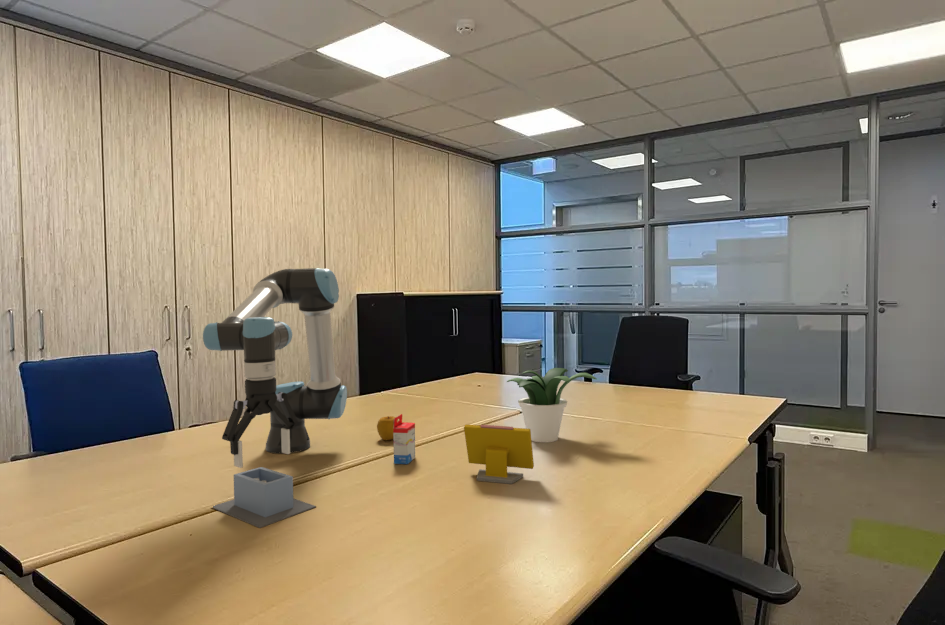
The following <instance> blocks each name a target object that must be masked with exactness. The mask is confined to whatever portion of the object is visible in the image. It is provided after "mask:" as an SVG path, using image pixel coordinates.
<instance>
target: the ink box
mask: <svg viewBox="0 0 945 625" xmlns="http://www.w3.org/2000/svg"><path fill="white" fill-rule="evenodd" d="M395 417H396V418H394V424H393V439H392V440H393V464H395V465H409V464H410V463H411V462H412V461H413V460H414V459H415V458H416V423H415V422H405V421H404V422H403V413H401V414H398V415H397V416H395ZM397 420H398V422H397Z"/></svg>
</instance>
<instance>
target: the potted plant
mask: <svg viewBox="0 0 945 625" xmlns="http://www.w3.org/2000/svg"><path fill="white" fill-rule="evenodd" d="M568 371H569V370H568V369H567V368H563V367H553V368H550V369H549V370H548V371H547V372H546V373H545V374H544V376H541V375H540V374H539V373H537V372H536V371H534V370H531V369H530V370H529V369H528V370H526V371H523V372H522V373H521V375H523V374H524V375H525V374H533V376H531V378H520V377H515V378H511V379H508V380H506V383H509V382H514V383H517V386H518V388H523V390H525V393H526V394H527V396H528V397H523V398H520V399H518V401H517V402H518V405H519V407H520V408H521V414H522V417H523V422H524V426H525V429H530V430H531V441H532V442H537V443H551V442H552V443H553V442H557V441H558V439H559V434H560V429H561V425H562V420H563V415H564V410H565V408H566V407H567V404H568V400H567V399H564V398H561V396H562V392H563V390H564V389H565V388H566V387H567V385H568V384H569V383H570V382H572V381H573V380H576V379H578V378H588V379H593V380H597V377H595V375H592V374H590V373H588V372H579V373H575V374H574V375H571V376H570V377H569V376H567V375H565V373H567V372H568ZM561 381H563V383H562V384H561ZM560 384H561V386H560V387H559V385H560ZM558 388H559V389H558Z"/></svg>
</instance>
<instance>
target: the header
mask: <svg viewBox="0 0 945 625" xmlns="http://www.w3.org/2000/svg"><path fill="white" fill-rule="evenodd" d="M254 479H256V480H259V478H254ZM262 482H265V483H266V480H262ZM212 506H213V508H214V509H213V508H212V509H213V510H216V511H218V512H221V513H223V514H226V515H228V516H230V517H233V518H235V519H237V520H240V521H242V522H245V523H246V524H249V525H252V526H255V527H257V528H258V529H261V528H264V527H266V526H269V525H272V524H275V523H277V522H280V521H282V520H286V519H288V518H291V517H293V516H296V515H299V514H302V513H304V512H308V511H310V510H313V509H315V508H317V506H316V505H314V504H311V503H308V502H306V501H302V500H300V499H297V498H294V497H293V508H290V509H288V510H285V511H282V512H279V513H276V514H274V515H271V516H268V517H263V516H261V515H258V514H255V513H253V512H250V511H248V510H245V509H243V508H240V507H238V506H235V505H234V498H233V499H231V500H227V501H225V502H221V503H218V504H215V506H214V505H212Z"/></svg>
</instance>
